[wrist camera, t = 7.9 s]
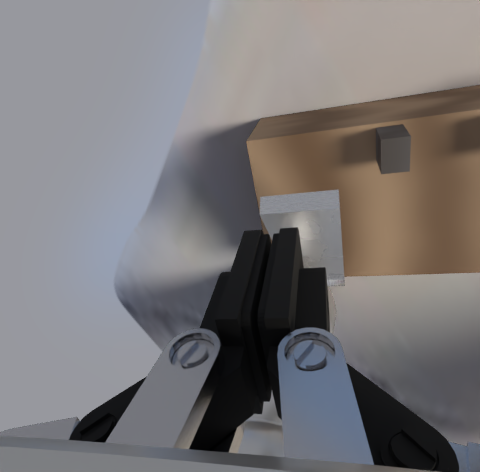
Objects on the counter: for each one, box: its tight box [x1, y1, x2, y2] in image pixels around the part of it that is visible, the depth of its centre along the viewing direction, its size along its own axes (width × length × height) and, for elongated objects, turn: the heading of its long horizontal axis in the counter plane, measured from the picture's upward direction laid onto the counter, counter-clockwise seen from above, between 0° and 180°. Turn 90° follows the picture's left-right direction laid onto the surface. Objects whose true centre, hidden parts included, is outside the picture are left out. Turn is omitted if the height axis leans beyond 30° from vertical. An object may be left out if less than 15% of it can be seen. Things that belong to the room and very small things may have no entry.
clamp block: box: [246, 85, 480, 277], centre depth 20 cm, size 20×9×7 cm, turn 101°
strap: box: [260, 190, 345, 286], centre depth 18 cm, size 10×3×1 cm
